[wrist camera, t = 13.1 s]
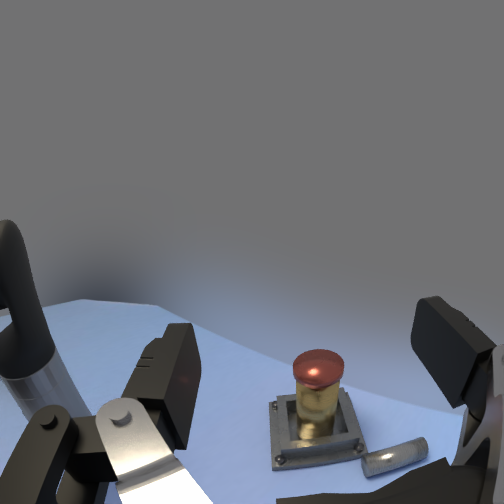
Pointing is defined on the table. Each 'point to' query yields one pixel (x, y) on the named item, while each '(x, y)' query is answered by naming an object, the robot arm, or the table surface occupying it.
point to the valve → (317, 391)
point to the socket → (316, 449)
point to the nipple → (394, 457)
